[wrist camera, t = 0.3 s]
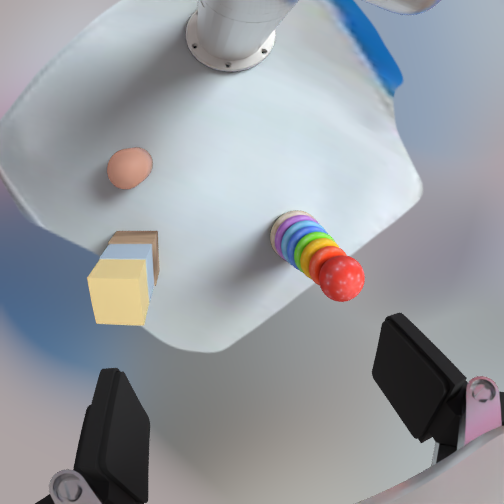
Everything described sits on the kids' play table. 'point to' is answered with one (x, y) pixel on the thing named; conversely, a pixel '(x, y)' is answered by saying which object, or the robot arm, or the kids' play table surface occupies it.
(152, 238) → the tower base
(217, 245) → the kids' play table surface
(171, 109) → the kids' play table surface
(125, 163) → the cylinder
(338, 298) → the stacking toy
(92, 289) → the tower top
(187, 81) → the kids' play table surface
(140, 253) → the tower mid
